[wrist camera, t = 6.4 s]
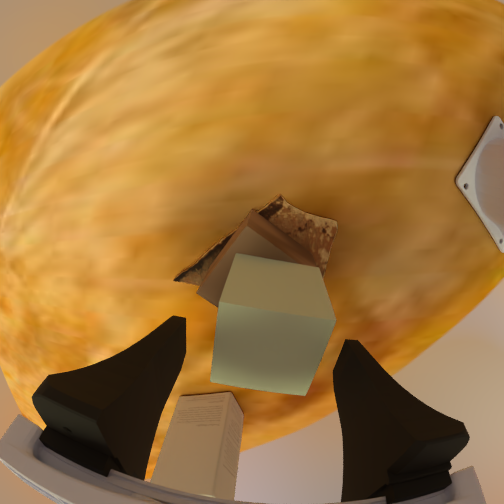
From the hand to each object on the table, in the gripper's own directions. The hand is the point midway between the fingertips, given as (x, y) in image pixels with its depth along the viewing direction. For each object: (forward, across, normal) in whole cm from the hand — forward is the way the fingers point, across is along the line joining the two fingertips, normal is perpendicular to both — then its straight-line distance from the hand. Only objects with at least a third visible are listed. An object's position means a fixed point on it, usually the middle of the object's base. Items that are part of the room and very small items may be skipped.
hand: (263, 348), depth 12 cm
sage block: (+4, 0, 0) cm, 4 cm away
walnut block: (+8, +1, -1) cm, 8 cm away
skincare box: (+9, +3, +16) cm, 19 cm away
